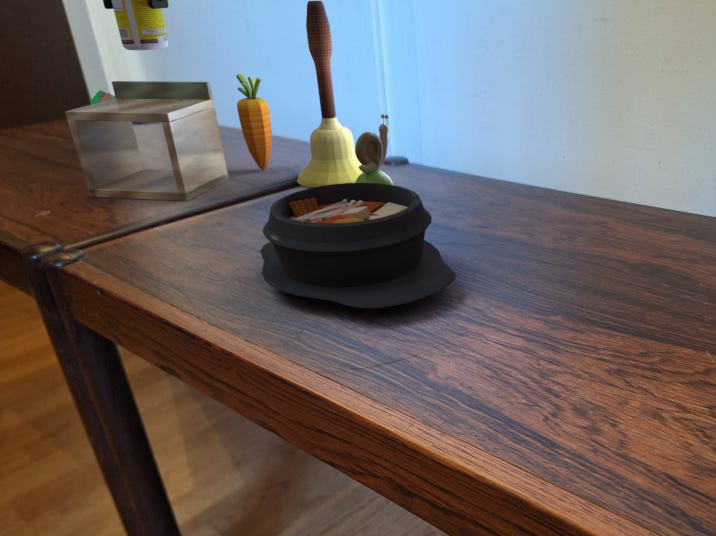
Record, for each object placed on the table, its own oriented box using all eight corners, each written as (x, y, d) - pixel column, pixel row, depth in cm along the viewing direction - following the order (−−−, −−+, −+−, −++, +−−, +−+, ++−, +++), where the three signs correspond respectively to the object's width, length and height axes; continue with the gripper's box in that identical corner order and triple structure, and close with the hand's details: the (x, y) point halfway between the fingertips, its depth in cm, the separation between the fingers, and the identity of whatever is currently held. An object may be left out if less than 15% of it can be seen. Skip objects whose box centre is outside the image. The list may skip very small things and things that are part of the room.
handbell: (380, 167, 116) (365, -2, 104) (368, 187, 105) (349, 1, 93) (307, 168, 116) (283, 0, 104) (287, 188, 106) (258, 3, 93)
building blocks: (124, 142, 159) (152, 112, 153) (87, 125, 153) (115, 93, 147) (125, 117, 163) (152, 86, 157) (89, 99, 156) (116, 66, 150)
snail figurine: (408, 205, 97) (402, 115, 91) (378, 218, 92) (370, 124, 86) (378, 200, 99) (370, 112, 94) (347, 212, 95) (337, 120, 89)
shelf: (90, 197, 104) (59, 93, 97) (139, 176, 114) (114, 80, 107) (187, 201, 101) (162, 94, 94) (228, 179, 111) (209, 81, 104)
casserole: (223, 269, 77) (207, 194, 73) (365, 230, 88) (358, 163, 84) (339, 348, 61) (327, 257, 57) (498, 289, 71) (498, 208, 67)
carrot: (284, 169, 116) (269, 73, 108) (258, 175, 113) (241, 76, 105) (268, 165, 119) (252, 70, 111) (242, 170, 116) (224, 74, 108)
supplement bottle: (176, 46, 93) (158, -42, 88) (158, 50, 88) (138, -43, 83) (135, 47, 93) (115, -42, 88) (115, 51, 88) (92, -43, 83)
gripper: (7, -171, 78) (57, 10, 87) (143, -180, 75) (180, 9, 83) (56, -161, 84) (98, 7, 93) (183, -168, 81) (214, 6, 90)
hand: (136, 6), depth 88 cm, fingers closed on supplement bottle, 5 cm apart
